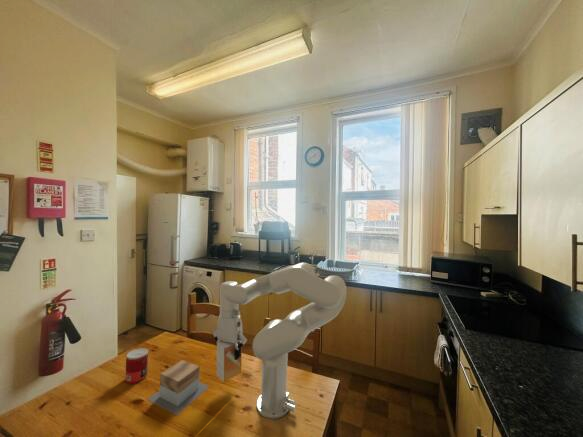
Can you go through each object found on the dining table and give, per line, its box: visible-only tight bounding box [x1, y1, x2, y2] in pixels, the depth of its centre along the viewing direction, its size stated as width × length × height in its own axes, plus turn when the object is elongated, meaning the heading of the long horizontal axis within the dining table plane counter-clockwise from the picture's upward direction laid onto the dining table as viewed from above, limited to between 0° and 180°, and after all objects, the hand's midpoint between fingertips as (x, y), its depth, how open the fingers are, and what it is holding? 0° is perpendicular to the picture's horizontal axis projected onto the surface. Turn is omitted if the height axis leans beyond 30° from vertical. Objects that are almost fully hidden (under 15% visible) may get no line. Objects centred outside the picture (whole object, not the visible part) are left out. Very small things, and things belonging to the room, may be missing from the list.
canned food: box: [124, 347, 149, 385], centre depth 101 cm, size 8×8×11 cm
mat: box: [146, 381, 210, 416], centre depth 93 cm, size 16×16×1 cm
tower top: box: [159, 359, 200, 394], centre depth 93 cm, size 10×10×4 cm
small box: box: [216, 341, 243, 383], centre depth 96 cm, size 8×6×13 cm
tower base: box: [159, 377, 200, 406], centre depth 93 cm, size 10×10×4 cm
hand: (229, 355), depth 96 cm, fingers closed on small box, 8 cm apart
